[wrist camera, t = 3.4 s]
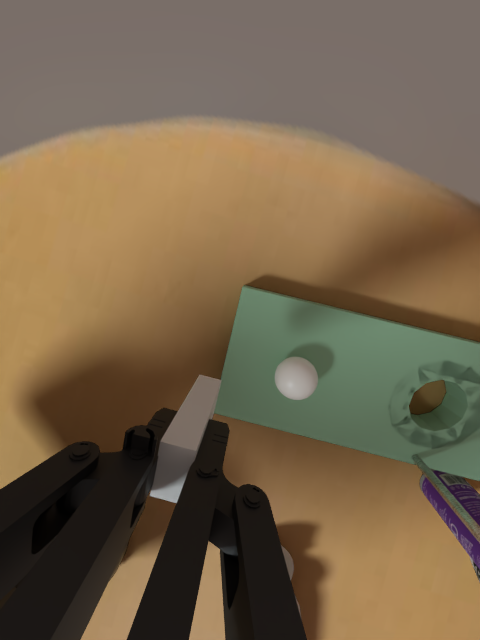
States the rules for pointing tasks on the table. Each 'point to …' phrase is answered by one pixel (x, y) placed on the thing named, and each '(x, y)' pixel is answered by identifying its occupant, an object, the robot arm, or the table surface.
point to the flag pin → (448, 497)
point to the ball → (296, 378)
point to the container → (467, 497)
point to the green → (354, 381)
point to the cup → (476, 569)
